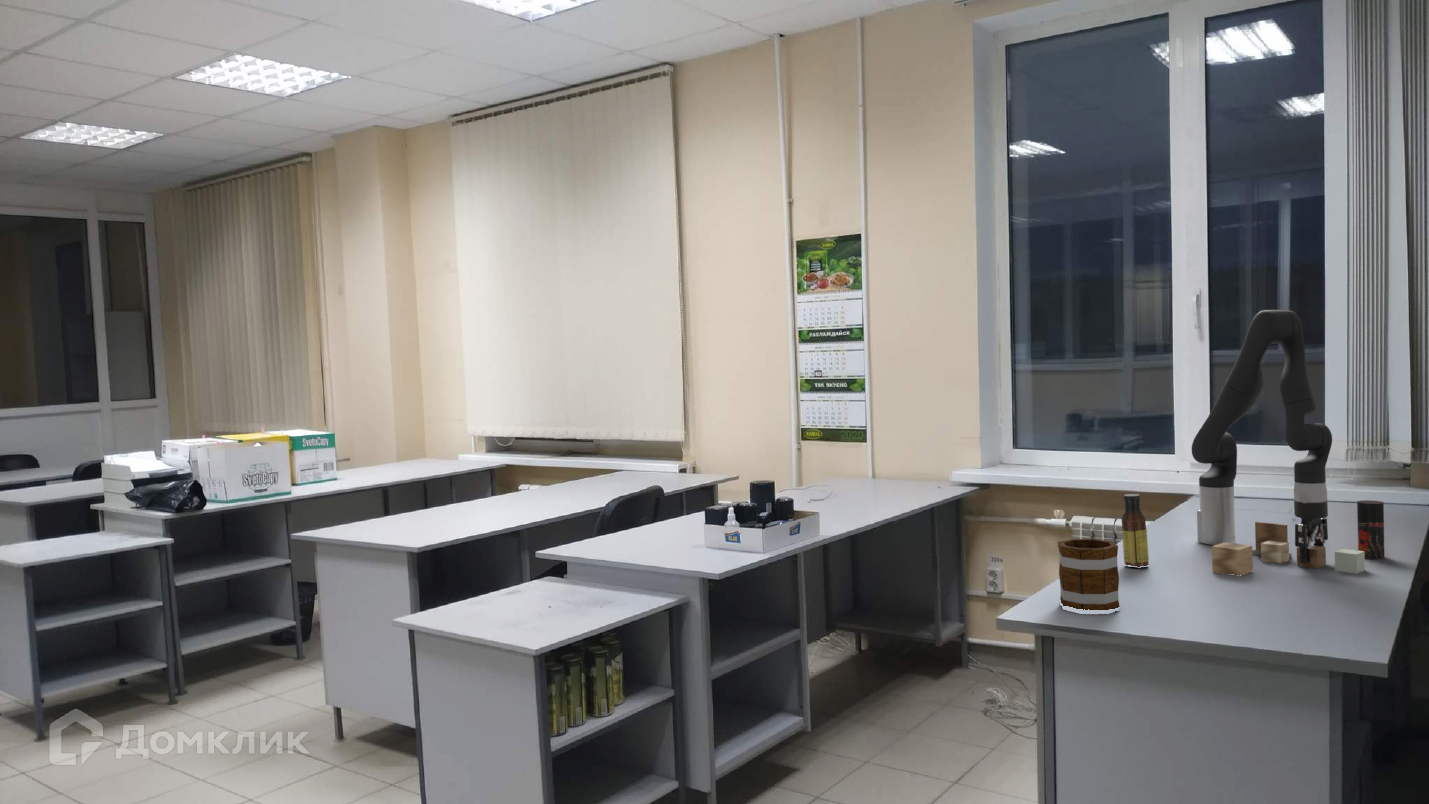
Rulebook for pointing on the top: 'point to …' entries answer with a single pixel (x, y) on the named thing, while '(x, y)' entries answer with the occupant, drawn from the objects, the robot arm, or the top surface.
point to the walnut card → (1269, 535)
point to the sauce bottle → (1134, 533)
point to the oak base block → (1232, 558)
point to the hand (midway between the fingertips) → (1312, 559)
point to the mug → (1089, 574)
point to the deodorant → (1371, 528)
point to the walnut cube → (1314, 557)
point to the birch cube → (1275, 551)
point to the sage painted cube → (1349, 561)
